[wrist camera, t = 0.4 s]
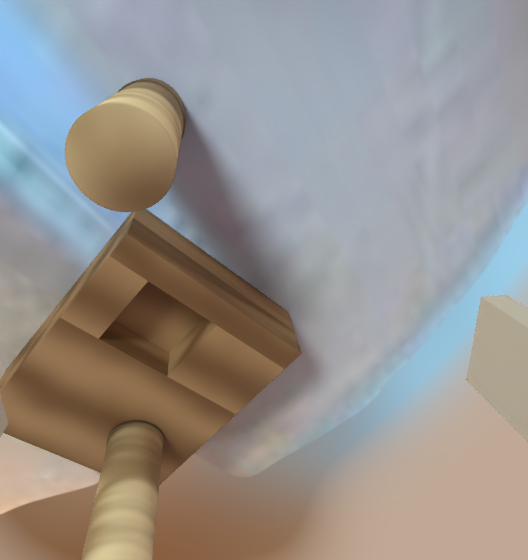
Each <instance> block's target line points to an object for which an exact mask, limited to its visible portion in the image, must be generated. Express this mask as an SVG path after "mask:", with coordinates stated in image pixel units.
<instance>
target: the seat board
mask: <svg viewBox="0 0 528 560" xmlns="http://www.w3.org/2000/svg"><path fill="white" fill-rule="evenodd" d="M300 354H301V350H300V347H299V344H298V341H297V338H296V335H295V332H294V329H293V326H292V323H291V320H290V317H289V314H288V312H287V311H286V310H285V309H283V308H282V307H280V306H279V305H278V304H276V303H275V302H274V301H272V300H271V299H269V298H268V297H267V296H265V295H264V294H262V293H261V292H260V291H258V290H257V289H256V288H254V287H253V286H251V285H250V284H249V283H247V282H246V281H245V280H243V279H242V278H240V277H239V276H238V275H236V274H235V273H233V272H232V271H231V270H229V269H228V268H227V267H225V266H224V265H222V264H221V263H220V262H218V261H217V260H216V259H214V258H213V257H211V256H210V255H209V254H207V253H206V252H204V251H203V250H202V249H200V248H199V247H198V246H196V245H195V244H193V243H192V242H191V241H189V240H188V239H187V238H185V237H184V236H182V235H181V234H180V233H178V232H177V231H176V230H174V229H173V228H171V227H170V226H169V225H167V224H166V223H164V222H163V221H162V220H160V219H159V218H158V217H156V216H155V215H153V214H152V213H151V212H149V211H148V210H147V209H144V210H140V211H135V212H132V213H131V214H130V215H129V216H128V218H127V219H126V220H125V221H124V223H123V224H122V225H121V226H120V228H119V229H118V230H117V231H116V233H115V234H114V235H113V236H112V238H111V239H110V240H109V241H108V243H107V244H106V245H105V247H104V248H103V249H102V250H101V252H100V253H99V254H98V255H97V257H96V258H95V259H94V260H93V262H92V263H91V264H90V265H89V267H88V268H87V269H86V270H85V272H84V273H83V274H82V275H81V277H80V278H79V279H78V280H77V282H76V283H75V284H74V285H73V287H72V288H71V289H70V291H69V292H68V293H67V294H66V296H65V297H64V298H63V299H62V301H61V302H60V303H59V304H58V306H57V307H56V308H55V309H54V311H53V312H52V313H51V314H50V316H49V317H48V318H47V319H46V321H45V322H44V323H43V324H42V326H41V327H40V328H39V329H38V331H37V332H36V333H35V334H34V336H33V337H32V338H31V340H30V341H29V342H28V343H27V345H26V346H25V347H24V348H23V350H22V351H21V352H20V353H19V355H18V356H17V357H16V358H15V360H14V361H13V362H12V363H11V365H10V366H9V367H8V368H7V370H6V371H5V373H4V375H3V376H2V378H1V380H0V395H1V398H2V402H3V406H4V409H5V413H6V417H7V420H8V426H7V427H6V429H5V430H4V432H3V433H5V434H8V435H10V436H12V437H15V438H17V439H20V440H22V441H25V442H27V443H30V444H32V445H34V446H37V447H39V448H42V449H44V450H47V451H49V452H52V453H54V454H56V455H59V456H61V457H64V458H66V459H69V460H71V461H74V462H76V463H78V464H81V465H83V466H86V467H88V468H91V469H93V470H96V471H98V472H101V475H100V480H99V484H98V489H97V493H96V498H95V502H94V507H93V511H92V515H91V520H90V525H89V528H88V533H87V538H86V542H85V546H84V551H83V555H82V559H81V560H152V558H153V549H154V537H155V525H156V515H157V504H158V492H159V485H160V484H161V483H162V482H163V481H164V480H166V479H167V478H168V477H169V476H170V475H171V474H172V473H173V472H174V471H175V470H176V469H177V468H178V467H179V466H181V465H182V464H183V463H184V462H185V461H186V460H187V459H188V458H189V457H190V456H191V455H192V454H194V453H195V452H196V451H197V450H198V449H199V448H200V447H201V446H202V445H203V444H204V443H205V442H206V441H208V440H209V439H210V438H211V437H212V436H213V435H214V434H215V433H216V432H217V431H218V430H219V429H220V428H221V427H223V426H224V425H225V424H226V423H227V422H228V421H229V420H230V419H231V418H232V417H233V416H234V415H235V414H237V413H238V412H239V411H240V410H241V409H242V408H243V407H244V406H245V405H246V404H247V403H248V402H249V401H251V400H252V399H253V398H254V397H255V396H256V395H257V394H258V393H259V392H260V391H261V390H262V389H263V388H265V387H266V386H267V385H268V384H269V383H270V382H271V381H272V380H273V379H274V378H275V377H276V376H277V375H279V374H280V373H281V372H282V371H283V370H284V369H285V368H286V367H287V366H288V365H289V364H290V363H291V362H293V361H294V360H295V359H296V358H297V357H298V356H299V355H300Z"/></svg>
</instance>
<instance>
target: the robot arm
mask: <svg viewBox="0 0 528 560" xmlns="http://www.w3.org/2000/svg"><path fill="white" fill-rule="evenodd" d="M466 380H467V381H468V382H469V383H470V384H471V385H472V386H473V387H474V388H475V389H476V390H477V391H478V392H479V393H480V394H481V395H482V396H483V397H484V398H485V399H486V400H487V401H488V402H489V403H490V404H491V405H492V406H493V407H494V408H495V409H496V410H497V411H498V412H499V413H500V414H501V415H502V416H503V417H504V418H505V419H506V420H507V421H508V422H509V423H510V424H511V425H512V426H513V427H514V428H515V429H516V430H517V431H518V432H519V433H520V434H521V435H522V436H523V437H524V438H525V439H526V440H527V441H528V308H527V307H526V306H524V305H522V304H521V303H519V302H517V301H516V300H514V299H512V298H510V297H509V296H507V295H500V296H487V297H481V301H480V306H479V312H478V318H477V323H476V329H475V334H474V340H473V346H472V351H471V357H470V363H469V368H468V374H467V379H466ZM7 426H8V420H7V417H6V413H5V409H4V406H3V402H2V398H1V395H0V437H1V435H2V434H3V432H4V430H5V429H6V427H7Z"/></svg>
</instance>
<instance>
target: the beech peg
mask: <svg viewBox="0 0 528 560" xmlns="http://www.w3.org/2000/svg"><path fill="white" fill-rule="evenodd" d="M184 129H185V110H184V106H183V103H182V100H181V98H180V96H179V95H178V93H177V92H176V91H175V90H174V89H173V88H172V87H171V86H170V85H168V84H167V83H165V82H163V81H161V80H158V79H153V78H145V79H140V80H137V81H133V82H131V83H128V84H127V85H125V86H124V87H122V88H121V89H120V90H119V91H118V92H117V93H116V94H114V95H113V96H111V97H109V98H108V99H106V100H105V101H103V102H101V103H100V104H98V105H97V106H95V107H94V108H92V109H90V110H89V111H87V112H86V113H84V114H83V115H82V116H80V117H79V118H78V119H77V120H76V122H75V123H74V124H73V125H72V127H71V129H70V131H69V133H68V136H67V139H66V143H65V160H66V165H67V168H68V171H69V174H70V176H71V178H72V180H73V181H74V183H75V184H76V186H77V187H78V188H79V190H80V191H81V192H82V193H83V194H84V195H85V196H86V197H88V198H89V199H90V200H91V201H93V202H95V203H96V204H98V205H100V206H102V207H104V208H107V209H110V210H114V211H119V212H135V211H140V210H144V209H146V208H149V207H151V206H153V205H154V204H156V203H157V202H158V201H160V200H161V199H162V198H163V197H164V196H165V195H166V193H167V192H168V190H169V189H170V187H171V185H172V183H173V180H174V176H175V171H176V165H177V160H178V154H179V148H180V143H181V139H182V137H183V134H184Z"/></svg>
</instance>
